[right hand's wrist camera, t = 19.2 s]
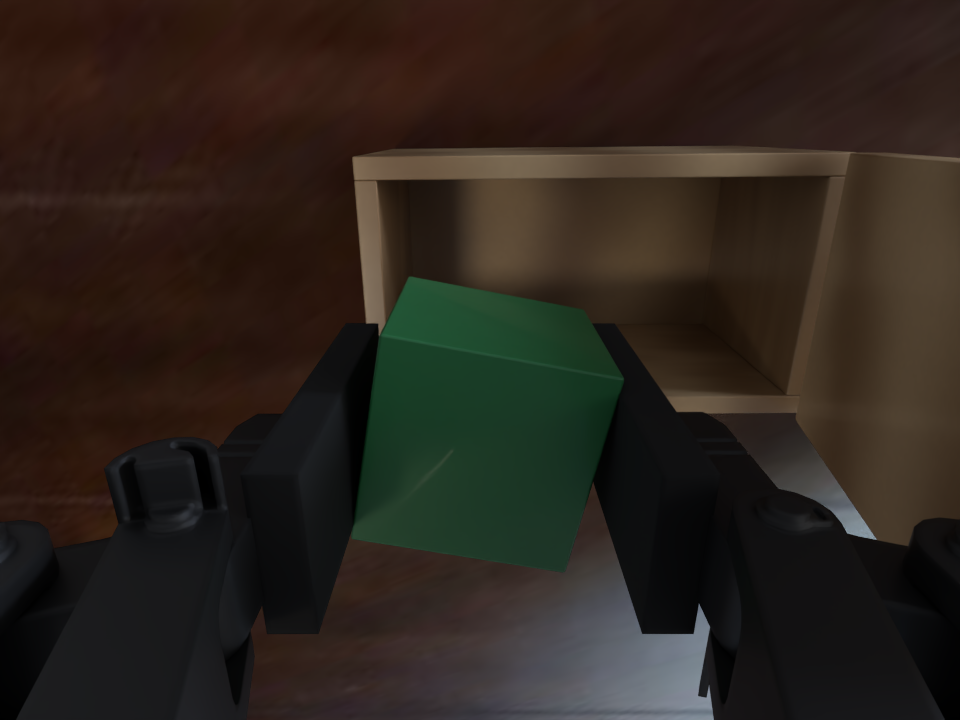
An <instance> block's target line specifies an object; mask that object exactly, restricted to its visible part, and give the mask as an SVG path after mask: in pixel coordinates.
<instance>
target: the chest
mask: <svg viewBox="0 0 960 720" xmlns="http://www.w3.org/2000/svg"><path fill="white" fill-rule="evenodd" d="M851 153H856V152H843V151H824V150H805V149H786V148H767V147H748V146H654V147H545V148H436V149H391V150H386V151H381V152H375V153H370V154H365V155H360V156H355V157H353V158H352V161H353V173H354V180H355V181H354V185H355V197H356V210H357V222H358V234H359V246H360V258H361V270H362V282H363V295H364V307H365V319H366V323H378V326H379V335H380V333H381V331H382V329H383V327H384V325H385V323H386V321H387V319H388V317H389V315H390V313H391V311H392V309H393V307H394V305H395V303H396V301H397V299H398V297H399V295H400V293H401V291H402V289H403V287H404V285H405V283H406V281H407V279H408V277H416V278H421V279H426V280H432V281H437V282H442V283H447V284H452V285H458V286H463V287H468V288H473V289H479V290H484V291H489V292H494V293H500V294H505V295H510V296H515V297H521V298H526V299H531V300H536V301H542V302H547V303H552V304H557V305H562V306H568V307H573V308H578V309H583V310H584V311H585V312H586V314H587V316H588V318H589V319H590V321H591V323H615V325H616V326H617V327H618V329H619V330H620V332H621V333H622V335H623V336H624V337H625V339H626V340H627V342H628V343H629V345H630V346H631V347H632V349H633V350H634V352H635V353H636V355H637V356H638V357H639V359H640V360H641V362H642V363H643V365H644V366H645V367H646V369H647V370H648V372H649V373H650V374H651V376H652V377H653V379H654V380H655V382H656V383H657V384H658V386H659V387H660V389H661V390H662V392H663V393H664V394H665V396H666V397H667V399H668V400H669V402H670V403H671V404H672V406H673V407H674V409H675V410H676V412H704V413H706V414H707V413H797V408H798V404H799V399H800V394H801V389H802V384H803V379H804V374H805V370H806V365H807V360H808V355H809V350H810V345H811V340H812V336H813V331H814V326H815V321H816V316H817V311H818V307H819V302H820V297H821V292H822V287H823V282H824V277H825V273H826V268H827V263H828V258H829V253H830V248H831V243H832V239H833V234H834V229H835V224H836V219H837V214H838V209H839V205H840V200H841V195H842V190H843V185H844V180H845V175H846V171H847V166H848V161H849V156H850V154H851Z"/></svg>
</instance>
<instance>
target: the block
mask: <svg viewBox="0 0 960 720" xmlns="http://www.w3.org/2000/svg"><path fill="white" fill-rule="evenodd" d="M623 383H624V378H623V376H622V374H621V372H620V371H619V369H618V367H617V366H616V364H615V362H614V360H613V359H612V357H611V355H610V354H609V352H608V350H607V348H606V347H605V345H604V343H603V342H602V340H601V338H600V336H599V335H598V333H597V331H596V330H595V328H594V326H593V324H592V323H591V321H590V319H589V318H588V316H587V314H586V312H585V311H584V310H583V309H578V308H573V307H568V306H562V305H557V304H552V303H547V302H542V301H536V300H531V299H526V298H521V297H515V296H510V295H505V294H500V293H494V292H489V291H484V290H479V289H473V288H468V287H463V286H458V285H452V284H447V283H442V282H437V281H432V280H426V279H421V278H416V277H408V279H407V281H406V283H405V285H404V287H403V289H402V291H401V293H400V295H399V297H398V299H397V301H396V303H395V305H394V307H393V309H392V311H391V313H390V315H389V317H388V319H387V321H386V323H385V325H384V327H383V329H382V331H381V333H380V335H379V341H378V348H377V355H376V363H375V370H374V377H373V384H372V391H371V398H370V405H369V412H368V419H367V426H366V433H365V441H364V448H363V455H362V462H361V469H360V476H359V483H358V490H357V497H356V504H355V511H354V518H353V528H352V533H351V537H352V539H355V540H361V541H368V542H374V543H380V544H387V545H393V546H399V547H406V548H412V549H418V550H424V551H431V552H437V553H443V554H450V555H456V556H462V557H469V558H475V559H481V560H487V561H494V562H500V563H506V564H513V565H519V566H525V567H532V568H538V569H544V570H550V571H557V572H565V570H566V568H567V564H568V561H569V558H570V555H571V551H572V548H573V545H574V542H575V538H576V535H577V532H578V529H579V525H580V522H581V519H582V516H583V512H584V509H585V506H586V503H587V500H588V496H589V493H590V490H591V487H592V483H593V480H594V477H595V474H596V470H597V467H598V464H599V461H600V457H601V454H602V451H603V448H604V445H605V441H606V438H607V435H608V432H609V428H610V425H611V422H612V419H613V415H614V412H615V409H616V406H617V402H618V399H619V395H620V393H621V390H622V386H623Z"/></svg>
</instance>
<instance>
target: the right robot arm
mask: <svg viewBox="0 0 960 720" xmlns="http://www.w3.org/2000/svg"><path fill="white" fill-rule="evenodd" d="M592 324H593V326H594V328H595V330H596V331H597V333H598V335H599V336H600V338H601V340H602V342H603V343H604V345H605V347H606V348H607V350H608V352H609V354H610V355H611V357H612V359H613V360H614V362H615V364H616V366H617V367H618V369H619V371H620V372H621V374H622V376H623V378H624V383H623V386H622V390H621V393H620V395H619V399H618V402H617V406H616V409H615V412H614V415H613V419H612V422H611V425H610V428H609V432H608V435H607V438H606V441H605V445H604V448H603V451H602V454H601V457H600V461H599V464H598V467H597V470H596V474H595V477H594V480H593V482H594V485H595V489H596V492H597V495H598V498H599V501H600V504H601V507H602V510H603V513H604V516H605V520H606V523H607V526H608V529H609V532H610V535H611V538H612V541H613V544H614V548H615V551H616V554H617V557H618V560H619V563H620V566H621V569H622V572H623V575H624V579H625V582H626V585H627V588H628V591H629V594H630V597H631V600H632V603H633V607H634V610H635V613H636V616H637V619H638V622H639V625H640V628H641V631H642V634H694V628H695V623H696V617H697V611H698V605H699V604H700V606H701V608H702V610H703V612H704V615H705V617H706V619H707V621H708V623H709V625H710V631H709V636H708V642H707V647H706V653H705V658H704V664H703V669H702V675H701V680H700V686H699V694H698V696H701V697H707V692H708V687H709V686H710V694H711V701H712V709H713V716H714V720H960V519H950V518H941V517H939V518H932V519H924V520H922V521H921V522H919V523H918V524H917V525H916V526H914V529H913V532H912V535H911V538H910V541H909V544H908V546H905V545H900V544H894V543H889V542H884V541H879V540H874V539H868V538H863V537H858V536H854V535H850V534H847V533H846V531H845V529H844V527H843V525H842V523H841V522H840V521H839V520H838V518H837V517H836V516H835V515H834V514H833V513H832V511H830V510H829V509H827V508H826V507H824V506H823V505H821V504H820V503H818V502H816V501H815V500H812V499H810V498H807V497H805V496H802V495H800V494H798V493H795V492H790V491H785V490H781V489H778V488H777V487H776V486H775V484H774V483H773V482H772V481H771V480H770V478H769V477H768V476H767V475H766V474H765V472H764V471H763V470H762V469H761V468H760V466H759V465H758V464H757V463H756V462H755V460H754V459H753V458H752V457H751V456H750V455H747V451H746V450H745V448H744V447H743V446H742V445H741V444H740V442H737V439H736V438H735V436H734V435H733V434H732V433H731V432H730V430H729V429H728V428H727V427H726V426H725V424H723V423H721V422H719V421H718V420H716V419H714V418H713V417H711V416H709V415H708V414H706V413H704V412H676V410H675V409H674V407H673V406H672V404H671V403H670V402H669V400H668V399H667V397H666V396H665V394H664V393H663V392H662V390H661V389H660V387H659V386H658V384H657V383H656V382H655V380H654V379H653V377H652V376H651V374H650V373H649V372H648V370H647V369H646V367H645V366H644V365H643V363H642V362H641V360H640V359H639V357H638V356H637V355H636V353H635V352H634V350H633V349H632V347H631V346H630V345H629V343H628V342H627V340H626V339H625V337H624V336H623V335H622V333H621V332H620V330H619V329H618V327H617V326H616V325H615V323H592ZM378 341H379V326H378V323H346V324H345V326H344V327H343V328H342V330H341V331H340V333H339V334H338V336H337V337H336V338H335V340H334V341H333V343H332V344H331V346H330V347H329V348H328V350H327V351H326V353H325V354H324V356H323V357H322V358H321V360H320V361H319V363H318V364H317V366H316V367H315V368H314V370H313V371H312V373H311V374H310V376H309V377H308V378H307V380H306V381H305V383H304V384H303V386H302V387H301V388H300V390H299V391H298V393H297V394H296V396H295V397H294V398H293V400H292V401H291V403H290V404H289V406H288V407H287V408H286V410H285V411H284V413H283V414H257V415H255V416H253V417H252V418H250V419H248V420H247V421H245V422H243V423H242V424H240V425H238V426H237V427H236V428H235V429H234V430H233V431H232V433H231V434H230V435H229V436H228V437H227V439H226V440H225V441H224V444H222V445H221V446H220V447H219V448H218V450H217V446H215V445H214V444H212V443H211V442H210V441H208V440H204V439H200V438H195V437H178V438H169V439H164V440H158V441H153V442H150V443H147V444H144V445H141V446H138V447H135V448H132V449H131V450H129V451H127V452H125V453H123V454H121V455H120V456H118V457H116V458H115V459H114V460H112V461H111V462H110V463H109V464H108V465H107V466H106V467H105V468H104V470H105V474H106V478H107V482H108V485H109V489H110V493H111V497H112V500H113V504H114V508H115V512H116V515H117V519H118V523H119V524H118V526H117V528H116V530H115V532H114V534H113V536H112V537H109V538H105V539H101V540H96V541H91V542H86V543H80V544H75V545H70V546H65V547H60V548H53V544H52V541H51V538H50V535H49V532H48V529H47V528H45V527H44V526H43V525H41V524H40V523H39V522H32V521H25V520H18V521H9V522H0V720H246V718H247V710H248V703H249V695H250V688H251V680H252V672H253V665H254V657H255V656H254V648H253V642H252V636H251V631H250V630H251V628H252V626H253V624H254V622H255V619H256V617H257V615H258V613H259V611H260V609H261V606H262V607H263V613H264V618H265V624H266V630H267V634H319V630H320V627H321V624H322V621H323V618H324V615H325V612H326V609H327V606H328V603H329V599H330V596H331V593H332V590H333V587H334V584H335V581H336V578H337V575H338V571H339V568H340V565H341V562H342V559H343V556H344V553H345V550H346V547H347V543H348V540H349V537H350V534H351V531H352V528H353V518H354V511H355V504H356V497H357V490H358V483H359V476H360V469H361V462H362V455H363V448H364V441H365V433H366V426H367V419H368V412H369V405H370V398H371V391H372V384H373V377H374V370H375V363H376V355H377V348H378Z"/></svg>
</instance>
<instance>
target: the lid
mask: <svg viewBox="0 0 960 720" xmlns="http://www.w3.org/2000/svg"><path fill="white" fill-rule="evenodd" d="M795 419H796V421H797V423H798V424H799V426H800V427H801V429H802V430H803V432H804V433H805V435H806V436H807V438H808V439H809V440H810V442H811V443H812V445H813V446H814V448H815V449H816V451H817V452H818V454H819V455H820V457H821V458H822V460H823V461H824V463H825V464H826V465H827V467H828V468H829V470H830V471H831V473H832V474H833V476H834V477H835V479H836V480H837V482H838V483H839V485H840V486H841V488H842V489H843V490H844V492H845V493H846V495H847V496H848V498H849V499H850V501H851V502H852V504H853V505H854V507H855V508H856V510H857V511H858V513H859V514H860V515H861V517H862V518H863V520H864V521H865V523H866V524H867V526H868V527H869V529H870V530H871V532H872V533H873V535H874V536H875V537H876V539H877V540H879V541H884V542H889V543H894V544H900V545H905V546H908V544H909V541H910V538H911V535H912V532H913V529H914V526H916V525H917V524H918V523H919V522H921V521H922V520H924V519H932V518H939V517H941V518H950V519H960V158H951V157H937V156H924V155H911V154H897V153H851V154H850V156H849V161H848V166H847V171H846V175H845V180H844V185H843V190H842V195H841V200H840V205H839V209H838V214H837V219H836V224H835V229H834V234H833V239H832V243H831V248H830V253H829V258H828V263H827V268H826V273H825V277H824V282H823V287H822V292H821V297H820V302H819V307H818V311H817V316H816V321H815V326H814V331H813V336H812V340H811V345H810V350H809V355H808V360H807V365H806V370H805V374H804V379H803V384H802V389H801V394H800V399H799V404H798V408H797V413H796V418H795Z"/></svg>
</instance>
